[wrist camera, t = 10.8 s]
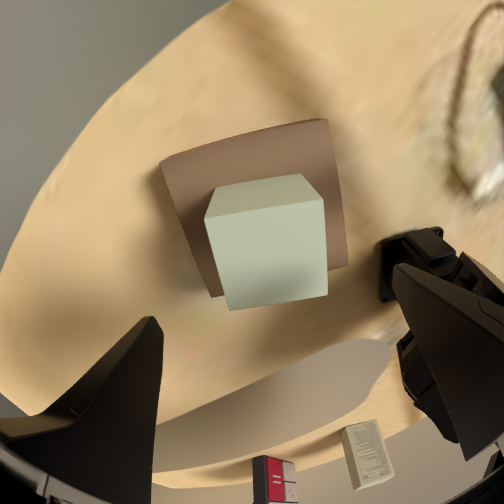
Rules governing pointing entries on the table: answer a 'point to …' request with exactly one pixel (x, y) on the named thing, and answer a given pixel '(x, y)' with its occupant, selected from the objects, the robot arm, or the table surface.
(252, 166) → the walnut block
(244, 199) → the sage cube
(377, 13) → the table surface
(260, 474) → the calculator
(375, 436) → the skincare box
